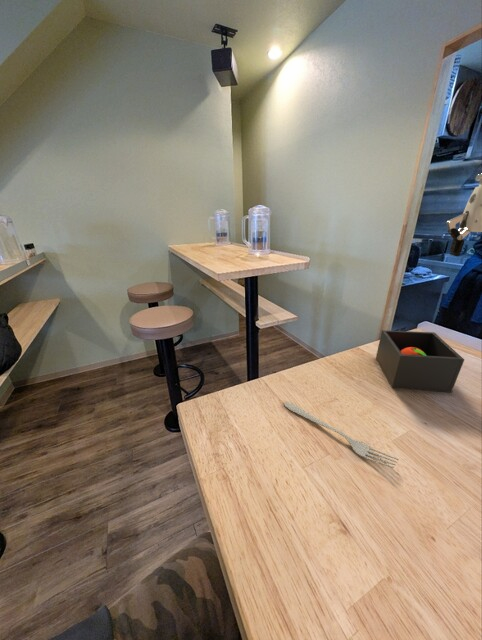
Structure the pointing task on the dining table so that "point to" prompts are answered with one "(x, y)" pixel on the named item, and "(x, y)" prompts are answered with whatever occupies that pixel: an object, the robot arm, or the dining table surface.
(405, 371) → the bin
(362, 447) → the fork
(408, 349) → the clementine
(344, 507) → the dining table surface
